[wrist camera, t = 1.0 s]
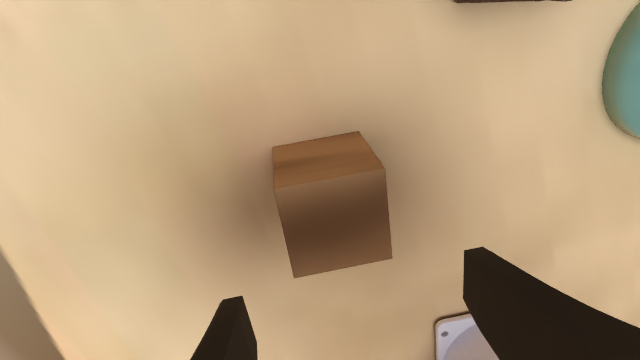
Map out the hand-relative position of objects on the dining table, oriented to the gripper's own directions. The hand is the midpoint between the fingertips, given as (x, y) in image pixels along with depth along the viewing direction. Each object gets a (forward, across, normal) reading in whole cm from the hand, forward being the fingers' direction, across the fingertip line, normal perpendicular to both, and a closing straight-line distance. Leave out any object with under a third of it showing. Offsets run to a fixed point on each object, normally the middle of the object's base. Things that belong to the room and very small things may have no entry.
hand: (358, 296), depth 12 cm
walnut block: (+9, 0, 0) cm, 9 cm away
